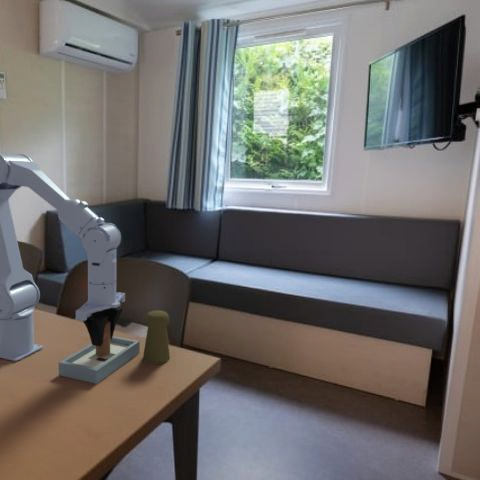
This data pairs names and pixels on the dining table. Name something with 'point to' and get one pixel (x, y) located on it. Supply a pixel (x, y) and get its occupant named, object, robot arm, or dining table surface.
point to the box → (91, 369)
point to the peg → (104, 342)
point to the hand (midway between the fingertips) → (102, 342)
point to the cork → (156, 338)
